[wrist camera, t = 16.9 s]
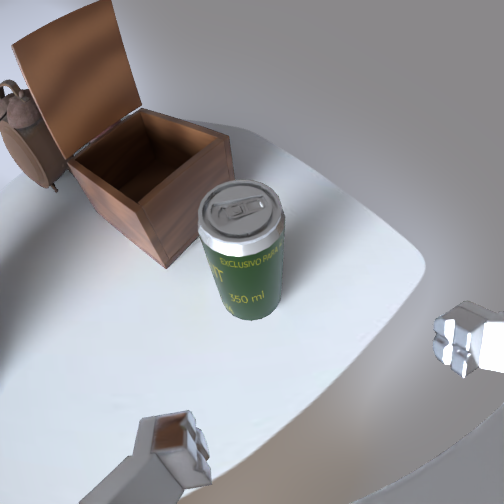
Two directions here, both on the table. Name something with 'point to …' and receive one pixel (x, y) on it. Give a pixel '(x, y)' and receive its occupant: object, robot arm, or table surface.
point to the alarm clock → (29, 137)
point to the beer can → (244, 245)
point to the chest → (154, 179)
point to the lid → (78, 75)
